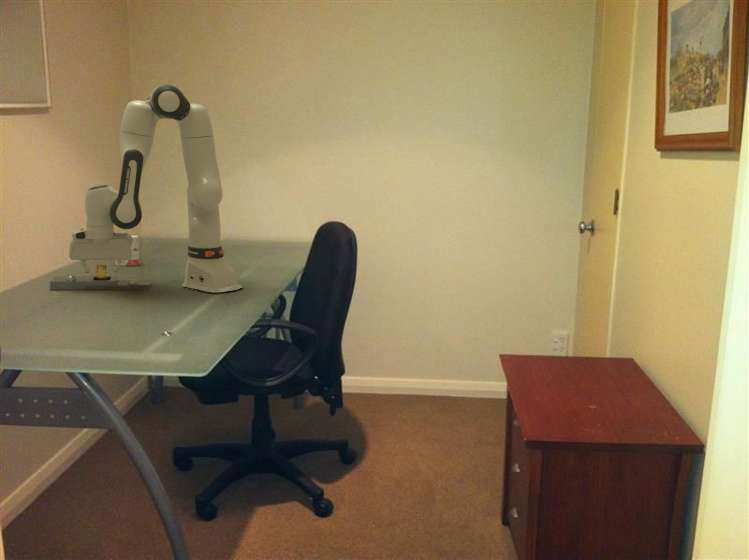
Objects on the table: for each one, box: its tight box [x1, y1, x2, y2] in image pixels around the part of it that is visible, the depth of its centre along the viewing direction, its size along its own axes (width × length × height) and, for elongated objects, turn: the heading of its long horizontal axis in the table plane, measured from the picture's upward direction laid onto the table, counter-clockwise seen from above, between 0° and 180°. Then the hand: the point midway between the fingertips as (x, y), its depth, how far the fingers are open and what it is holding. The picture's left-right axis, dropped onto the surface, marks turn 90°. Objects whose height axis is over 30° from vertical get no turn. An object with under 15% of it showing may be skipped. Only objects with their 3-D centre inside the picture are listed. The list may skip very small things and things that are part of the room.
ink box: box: [114, 235, 140, 267], centre depth 279 cm, size 9×5×12 cm, turn 96°
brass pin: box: [95, 263, 109, 280], centre depth 242 cm, size 4×4×8 cm
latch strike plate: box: [49, 274, 152, 291], centre depth 243 cm, size 32×8×4 cm, turn 105°
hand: (102, 272), depth 242 cm, fingers open, 8 cm apart
